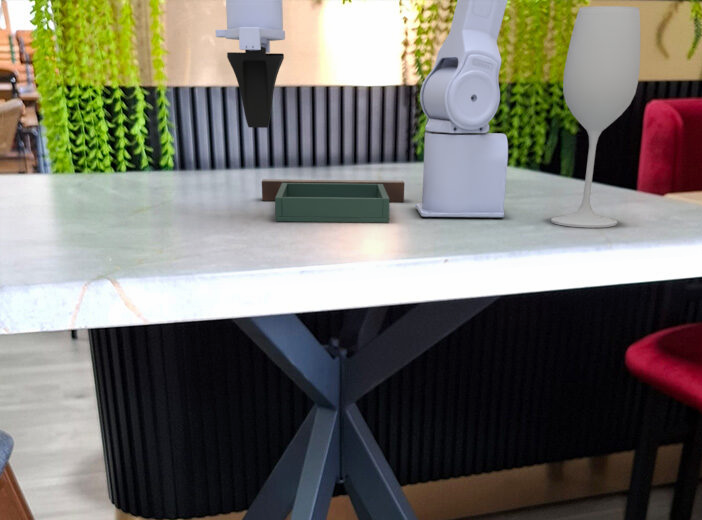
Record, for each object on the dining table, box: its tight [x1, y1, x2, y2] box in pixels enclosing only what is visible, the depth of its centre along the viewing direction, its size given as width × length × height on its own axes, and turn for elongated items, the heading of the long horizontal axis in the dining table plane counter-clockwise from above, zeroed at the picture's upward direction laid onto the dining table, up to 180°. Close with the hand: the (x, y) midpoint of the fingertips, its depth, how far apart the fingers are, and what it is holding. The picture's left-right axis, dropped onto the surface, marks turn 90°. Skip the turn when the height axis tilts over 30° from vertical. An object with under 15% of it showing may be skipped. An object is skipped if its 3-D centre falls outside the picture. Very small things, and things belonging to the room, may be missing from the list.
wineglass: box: [550, 5, 641, 229], centre depth 95 cm, size 8×8×21 cm
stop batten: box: [261, 178, 405, 203], centre depth 114 cm, size 18×2×2 cm, turn 91°
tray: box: [274, 183, 390, 224], centre depth 104 cm, size 12×14×2 cm
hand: (258, 127), depth 96 cm, fingers closed
